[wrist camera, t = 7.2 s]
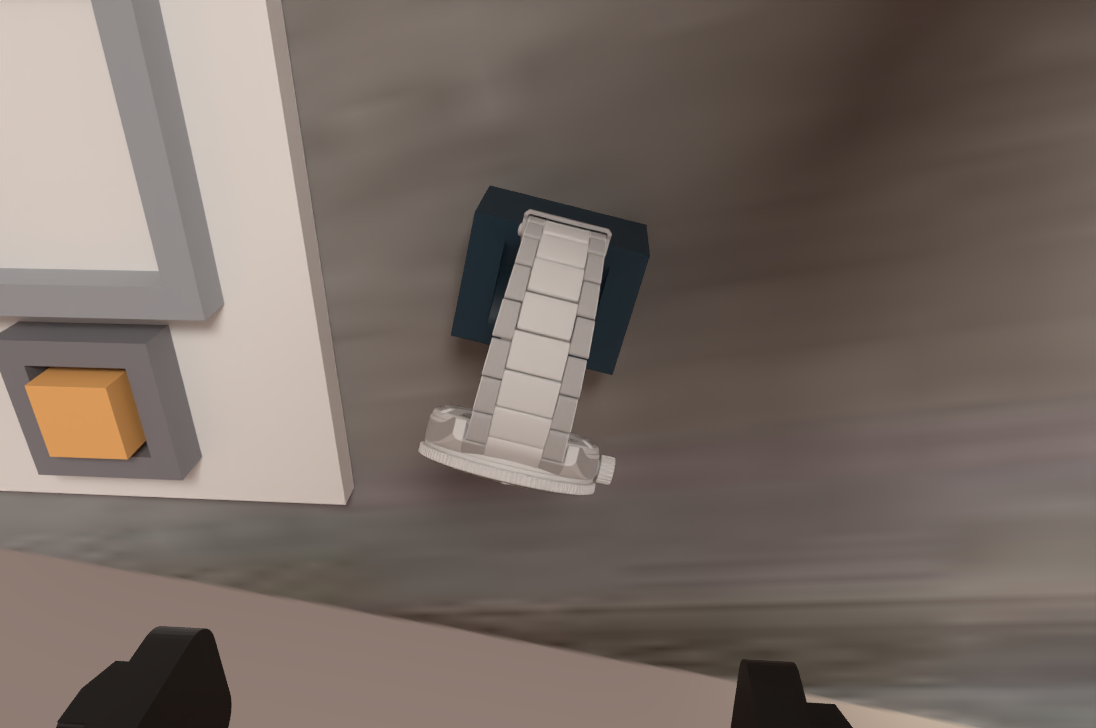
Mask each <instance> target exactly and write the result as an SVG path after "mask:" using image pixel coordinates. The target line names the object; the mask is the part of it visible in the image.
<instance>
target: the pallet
mask: <svg viewBox="0 0 1096 728" xmlns="http://www.w3.org/2000/svg"><path fill="white" fill-rule="evenodd" d="M51 366H52V367H87V368H121V369H126V373H127V376H128V380H129V383H130V386H131V390H132V393H133V397H134V400H135V404H136V407H137V411H138V414H139V417H140V421H141V424H142V428H143V431H144V435H145V438H146V441H145V442H144V443H143V444H142V445H141V446H140V447H139V448H138V449H137V450H136V451H135V452H134V454H133V455H132V456H131V457H130V458H129V459H128V460H126V459H100V458H73V457H50V455H49V453H48V450H47V447H46V444H45V441H44V439H43V436H42V433H41V430H40V428H39V425H38V422H37V419H36V417H35V414H34V411H33V408H32V406H31V403H30V400H29V397H28V394H27V392H26V389H25V385H26V384H27V383H29V382H30V381H31V380H33V379H34V378H36V377H37V376H38V375H40V374H41V373H43V372H44V371H45V370H47V369H48V368H50V367H51ZM353 489H354V481H353V475H352V468H351V461H350V455H349V448H348V442H347V435H346V428H345V422H344V415H343V408H342V402H341V395H340V388H339V382H338V375H337V369H336V362H335V355H334V349H333V342H332V335H331V329H330V322H329V315H328V309H327V302H326V296H325V289H324V282H323V276H322V269H321V262H320V256H319V249H318V242H317V236H316V229H315V223H314V216H313V209H312V203H311V196H310V189H309V183H308V176H307V169H306V163H305V156H304V149H303V143H302V136H301V130H300V123H299V116H298V110H297V103H296V96H295V90H294V83H293V76H292V70H291V63H290V57H289V50H288V43H287V37H286V30H285V23H284V17H283V10H282V3H281V0H0V491H24V492H48V493H73V494H97V495H121V496H145V497H170V498H194V499H218V500H243V501H267V502H291V503H316V504H340V505H346V503H347V501H348V499H349V497H350V495H351V493H352V491H353Z"/></svg>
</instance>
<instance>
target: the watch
mask: <svg viewBox="0 0 1096 728" xmlns="http://www.w3.org/2000/svg"><path fill="white" fill-rule="evenodd" d="M649 256H650V254H649V245H648V236H647V227H646V225H644V224H640V223H636V222H632V221H628V220H624V219H620V218H616V217H612V216H608V215H604V214H600V213H596V212H592V211H588V210H585V209H581V208H577V207H573V206H569V205H565V204H561V203H557V202H553V201H549V200H545V199H541V198H537V197H533V196H529V195H525V194H521V193H517V192H513V191H509V190H506V189H502V188H498V187H494V186H489V188H488V190H487V191H486V193H485V195H484V197H483V199H482V200H481V202H480V204H479V206H478V208H477V209H476V211H475V215H474V220H473V225H472V230H471V236H470V241H469V246H468V251H467V256H466V261H465V266H464V271H463V276H462V282H461V287H460V292H459V297H458V302H457V307H456V312H455V317H454V323H453V328H452V333H451V335H452V336H456V337H460V338H464V339H468V340H472V341H476V342H480V343H485V344H489V345H490V347H489V350H488V354H487V357H486V361H485V364H484V367H483V371H482V377H481V381H480V385H479V388H478V392H477V395H476V399H475V402H474V406H473V409H471V408H466V407H460V406H454V405H447V406H442V407H437V408H435V409H434V410H433V413H431V414H430V418H429V421H428V425H427V429H426V433H425V441H422V442H420V446H419V450H418V451H419V453H421V454H422V455H423V456H425V457H426V458H428V459H430V460H433V461H435V462H437V463H440V464H443V465H445V466H448V467H451V468H453V469H456V470H459V471H462V472H465V473H469V474H472V475H475V476H479V477H482V478H486V479H489V480H493V481H497V482H501V483H502V484H506V485H509V484H510V485H514V486H519V487H523V488H528V489H534V490H539V491H545V492H552V493H560V494H568V495H590V494H593V493H594V490H595V485H596V484H595V483H594V482H593V479H594V477H595V482H597V483H602V484H606V485H609V484H610V482H611V480H612V477H613V473H614V468H615V458H614V457H610V456H605V455H601V456H600V454H599V449H598V447H597V446H596V445H595V444H594V443H592V442H591V441H590V440H589V439H587V438H585V437H582V436H579V435H576V434H573V433H571V429H572V425H573V420H574V416H575V412H576V407H577V403H578V398H579V397H580V393H581V388H582V383H583V378H584V374H585V369H586V368H587V369H591V370H595V371H599V372H603V373H607V374H611V375H612V374H613V371H614V368H615V365H616V362H617V358H618V355H619V352H620V349H621V346H622V342H623V339H624V336H625V333H626V330H627V326H628V323H629V320H630V317H631V314H632V311H633V307H634V304H635V301H636V298H637V295H638V291H639V288H640V285H641V282H642V279H643V275H644V272H645V269H646V266H647V263H648V259H649ZM508 353H509V354H508ZM547 378H548V379H547ZM501 380H502V381H501ZM599 456H600V458H599Z"/></svg>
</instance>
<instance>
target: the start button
mask: <svg viewBox="0 0 1096 728" xmlns="http://www.w3.org/2000/svg"><path fill="white" fill-rule="evenodd" d="M25 389H26V392H27V394H28V397H29V400H30V403H31V406H32V408H33V411H34V414H35V417H36V419H37V422H38V425H39V428H40V430H41V433H42V436H43V439H44V441H45V444H46V447H47V450H48V453H49V455H50V457H73V458H100V459H126V460H128V459H129V458H130V457H131V456H132V455H133V454H134V452H135V451H136V450H137V449H138V448H139V447H140V446H141V445H142V444H143V443H144V442H145V441H146V438H145V435H144V431H143V428H142V424H141V421H140V417H139V414H138V411H137V407H136V404H135V400H134V397H133V393H132V390H131V386H130V383H129V380H128V376H127V373H126V369H121V368H87V367H52V366H51V367H50V368H48V369H47V370H45V371H44V372H43V373H41V374H40V375H38V376H37V377H36V378H34V379H33V380H31V381H30V382H29V383H27V384H26V385H25Z"/></svg>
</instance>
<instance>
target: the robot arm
mask: <svg viewBox="0 0 1096 728" xmlns="http://www.w3.org/2000/svg"><path fill="white" fill-rule="evenodd" d="M734 702H735V703H734V708H733V716H732V722H731V728H853V727H852V726H851V725H850V723H849V722H848V721H847V720H846V719H845V717H844V716H843V714H842V713H841V712H840V710H839V709H838V708H837V706H836V705H835V704H823V703H807V702H806V698H805V694H804V690H803V686H802V682H801V679H800V675H799V671H798V669H797V666H796V664H795V663H794V662H783V661H764V660H745V659H743V660H742V661H741V663H740V667H739V674H738V681H737V688H736V695H735V701H734ZM230 716H231V695H230V691H229V688H228V684H227V681H226V677H225V674H224V670H223V667H222V664H221V660H220V656H219V653H218V649H217V645H216V642H215V638H214V636H213V634H212V632H211V631H210V630H208V629H203V628H185V627H166V626H159V627H156V628H154V629H153V630H152V631H151V632H150V633H149V634H148V635H147V636H146V638H145V639H144V640H143V642H142V643H141V645H140V646H139V648H138V649H137V651H136V652H135V653H134V655H133V657H132V658H131V659H130V661H129V662H125V661H115V662H114V663H112V664H111V665H110V666H109V667H108V668H106V669H105V670H104V671H103V672H102V673H100V674H99V675H98V676H97V677H95V678H94V679H93V680H92V681H90V682H89V683H88V684H87V685H85V686H84V687H83V688H82V689H81V690H80V692H79V693H78V694H77V696H76V697H75V698H74V700H73V701H72V702H71V704H70V705H69V706H68V708H67V709H66V711H65V712H64V713H63V715H62V716H61V718H60V719H59V720H58V724H57V727H56V728H228V726H229V721H230Z"/></svg>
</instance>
